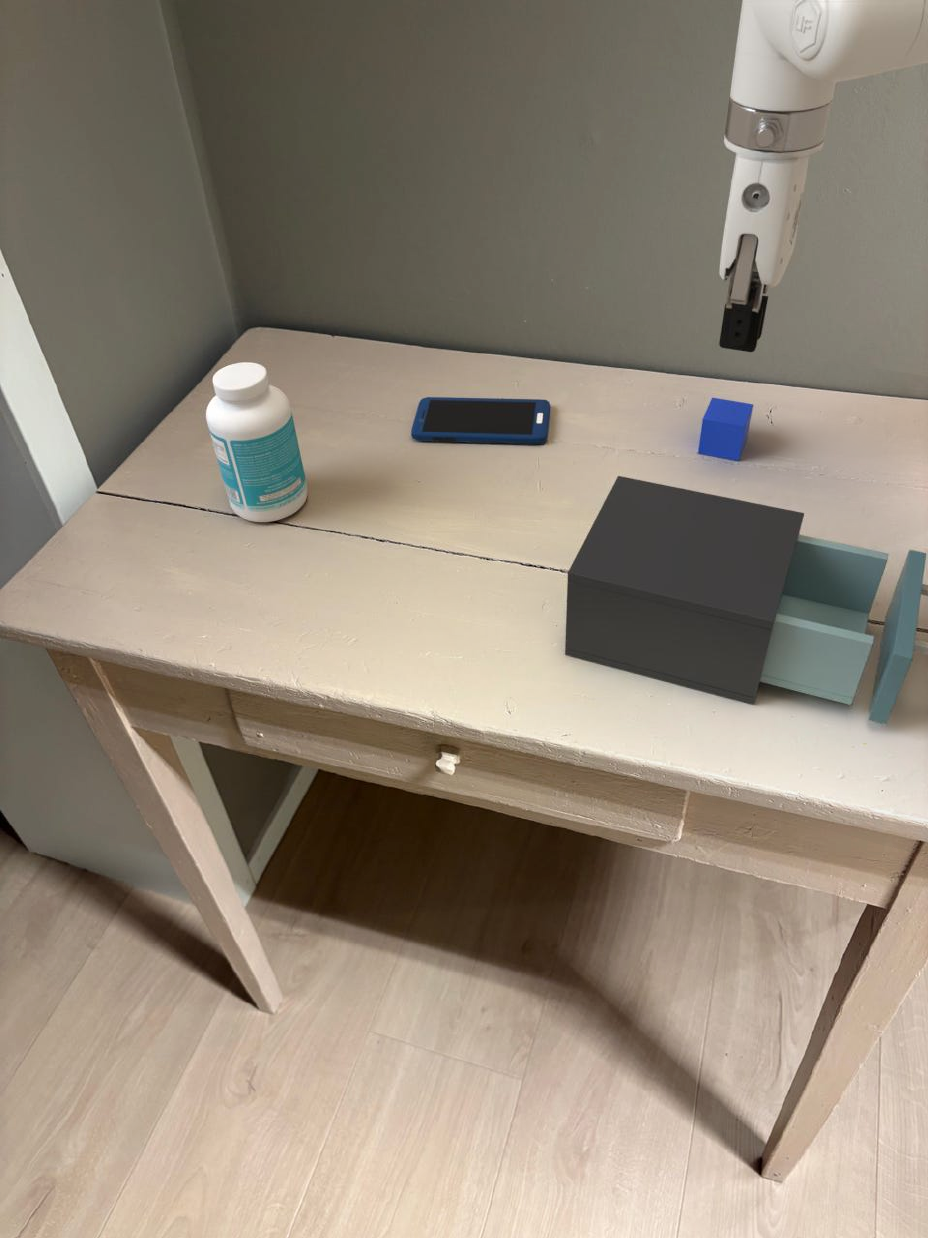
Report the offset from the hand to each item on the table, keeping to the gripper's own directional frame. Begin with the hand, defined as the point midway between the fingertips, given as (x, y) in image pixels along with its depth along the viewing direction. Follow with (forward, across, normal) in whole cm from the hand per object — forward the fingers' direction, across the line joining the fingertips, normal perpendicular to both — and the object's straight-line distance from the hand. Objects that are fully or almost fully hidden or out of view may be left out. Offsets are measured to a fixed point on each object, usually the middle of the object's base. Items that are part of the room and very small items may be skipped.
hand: (740, 341), depth 86 cm
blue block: (+11, 0, 0) cm, 11 cm away
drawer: (+10, -26, -14) cm, 31 cm away
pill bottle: (+12, -23, +38) cm, 46 cm away
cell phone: (+11, -4, +24) cm, 27 cm away
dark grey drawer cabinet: (+11, -26, -2) cm, 28 cm away
